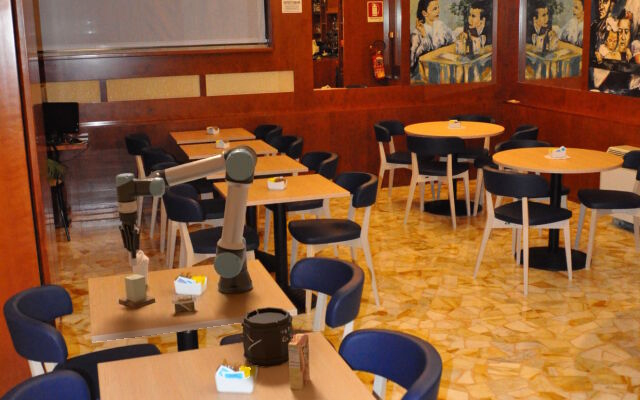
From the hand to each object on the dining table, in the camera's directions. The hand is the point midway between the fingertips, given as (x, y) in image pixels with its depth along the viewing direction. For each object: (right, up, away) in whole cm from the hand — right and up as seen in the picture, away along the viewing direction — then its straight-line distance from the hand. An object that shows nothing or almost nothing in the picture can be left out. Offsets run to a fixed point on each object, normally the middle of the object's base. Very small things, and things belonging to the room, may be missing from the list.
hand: (133, 265), depth 333 cm
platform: (+23, -18, -9) cm, 31 cm away
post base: (+1, -16, +4) cm, 16 cm away
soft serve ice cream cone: (-2, -11, +26) cm, 29 cm away
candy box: (+72, -32, -78) cm, 111 cm away
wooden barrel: (+60, -28, -57) cm, 88 cm away
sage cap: (+1, -14, +3) cm, 15 cm away
